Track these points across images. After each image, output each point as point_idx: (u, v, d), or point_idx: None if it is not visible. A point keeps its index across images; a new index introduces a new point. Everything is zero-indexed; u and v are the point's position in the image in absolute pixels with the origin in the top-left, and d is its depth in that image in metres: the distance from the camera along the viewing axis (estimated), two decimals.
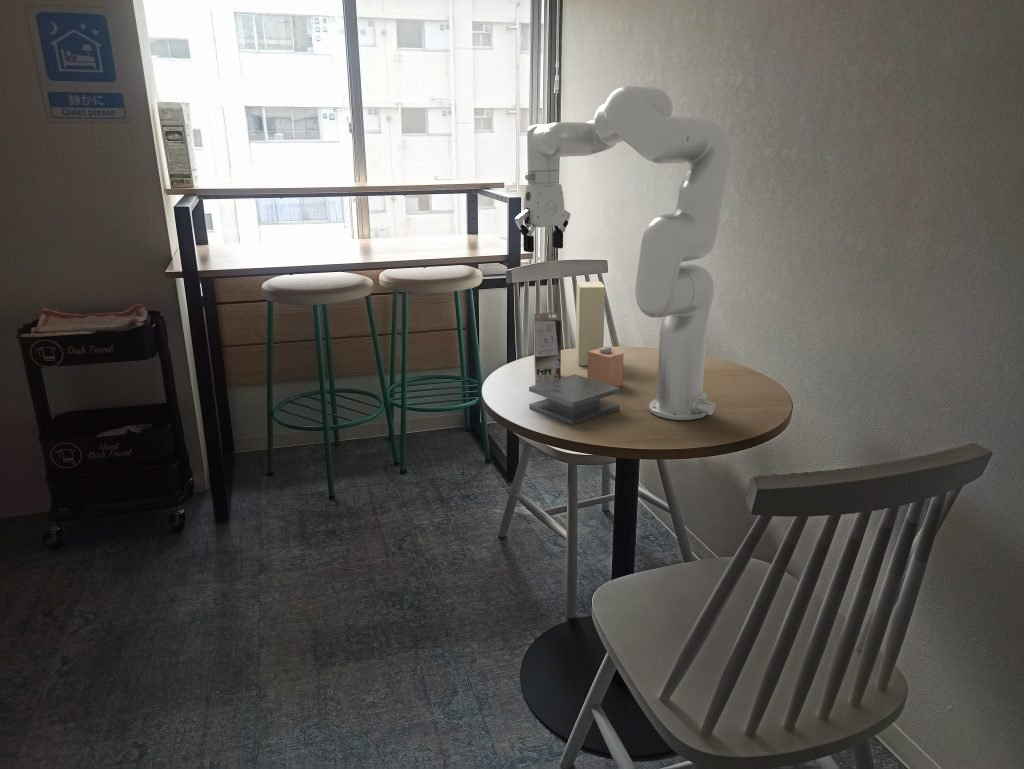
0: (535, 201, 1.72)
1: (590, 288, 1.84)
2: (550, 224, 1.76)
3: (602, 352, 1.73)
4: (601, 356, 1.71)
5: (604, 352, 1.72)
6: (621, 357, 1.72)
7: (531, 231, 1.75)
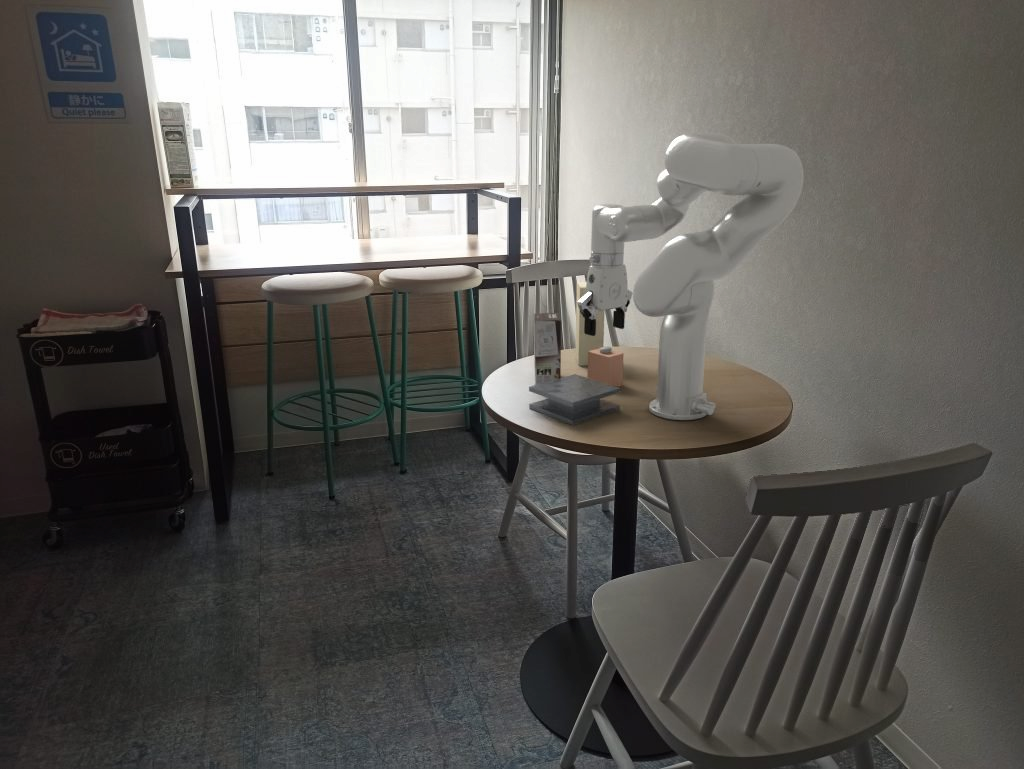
0: (599, 285, 1.64)
1: None
2: (613, 307, 1.68)
3: (602, 352, 1.73)
4: (601, 356, 1.71)
5: (604, 352, 1.72)
6: (621, 357, 1.72)
7: (594, 315, 1.67)
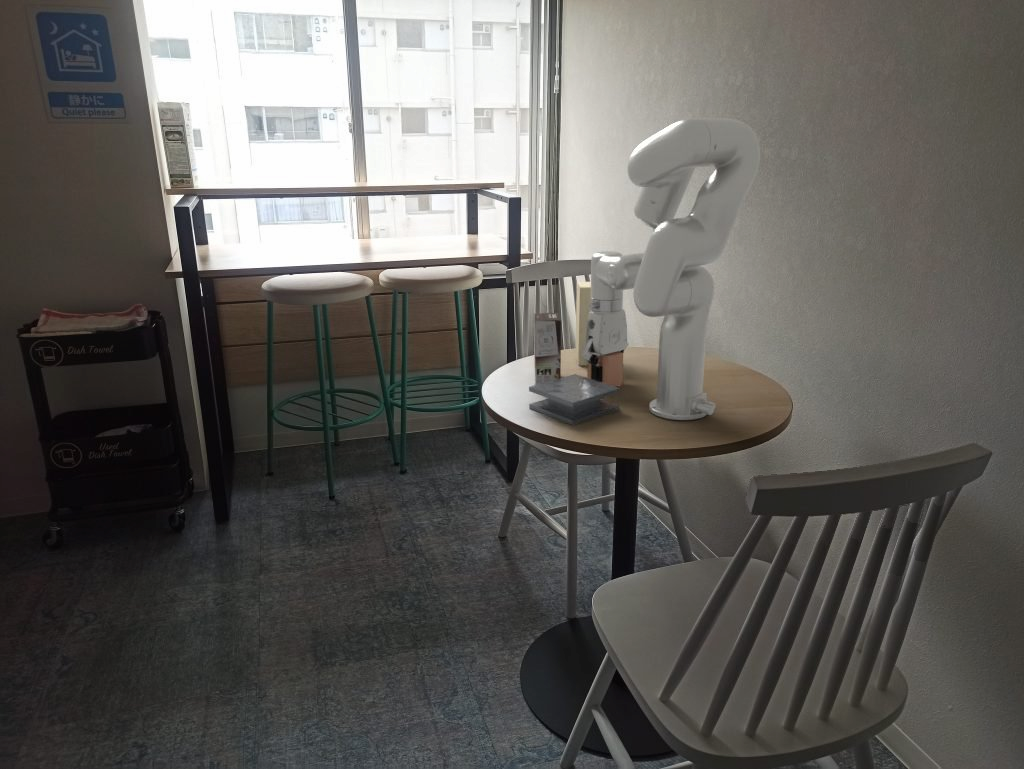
0: (599, 330, 1.67)
1: (590, 288, 1.84)
2: (613, 351, 1.71)
3: None
4: None
5: None
6: (621, 357, 1.72)
7: (599, 361, 1.71)
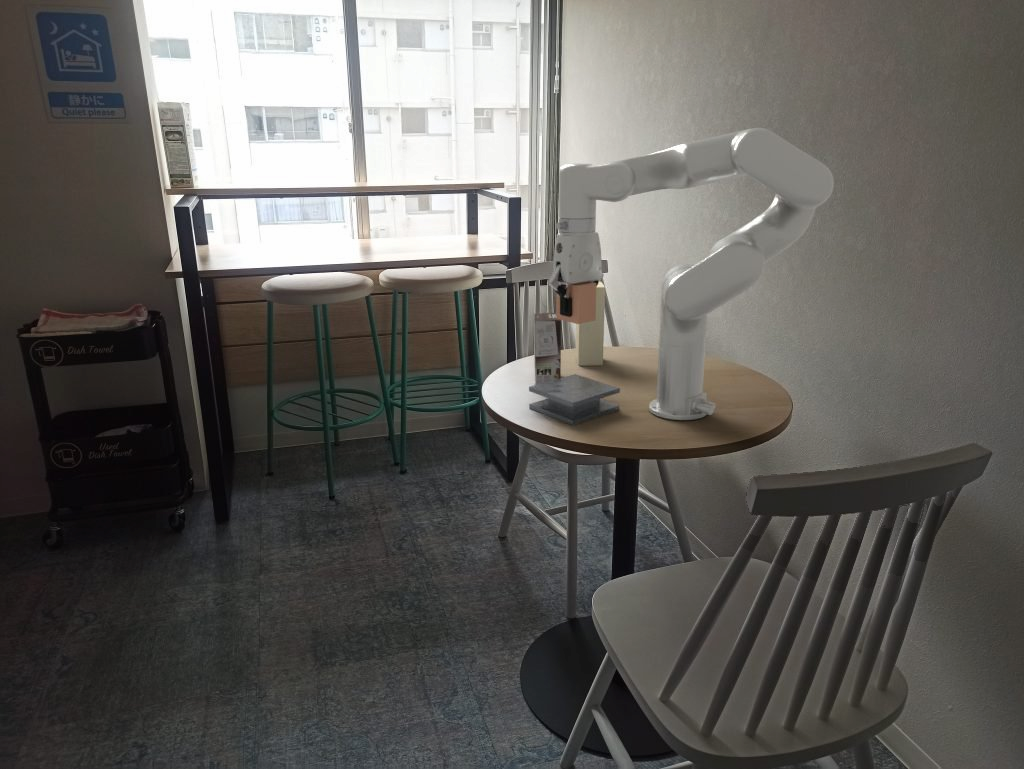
0: (567, 254, 1.45)
1: None
2: (584, 280, 1.49)
3: None
4: None
5: None
6: (593, 287, 1.50)
7: (568, 292, 1.49)
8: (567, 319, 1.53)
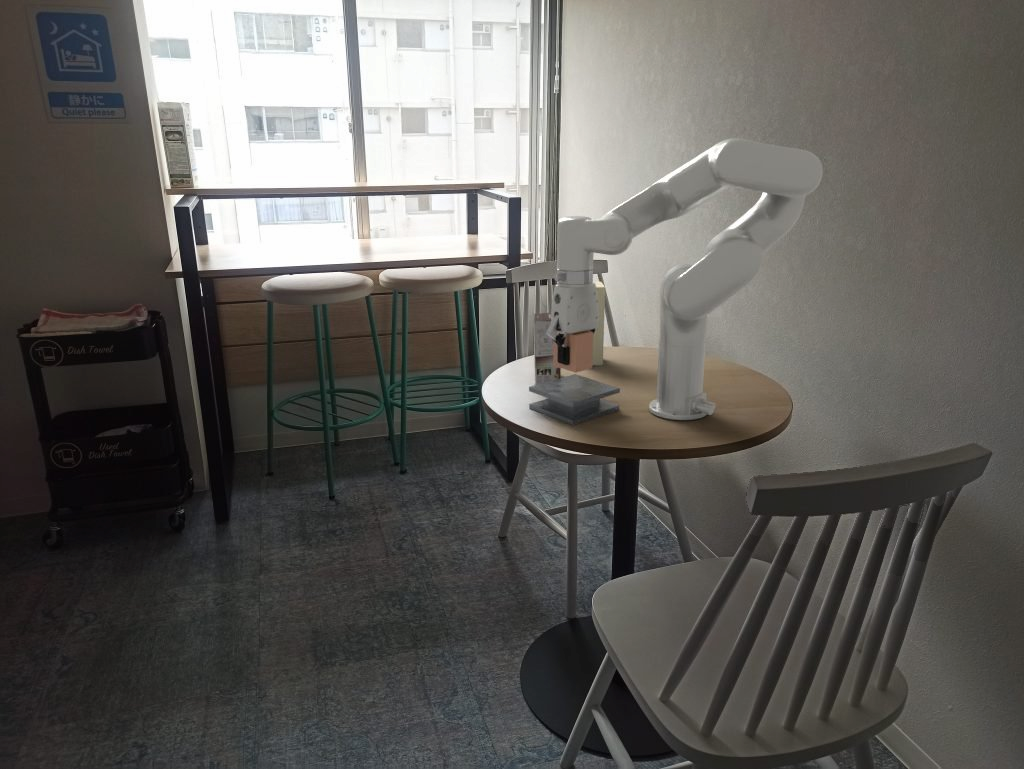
0: (566, 305, 1.48)
1: None
2: (582, 329, 1.52)
3: None
4: None
5: None
6: (591, 336, 1.53)
7: (566, 341, 1.52)
8: (564, 367, 1.55)
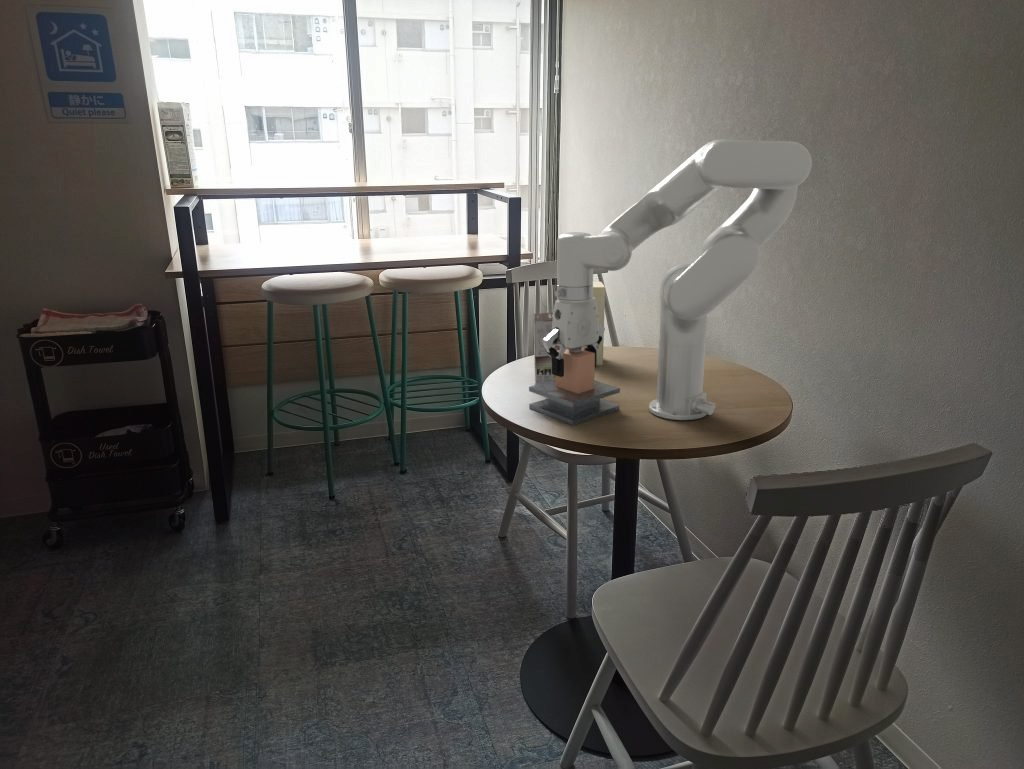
0: (566, 321, 1.49)
1: None
2: (583, 344, 1.53)
3: (571, 352, 1.54)
4: (569, 356, 1.53)
5: (573, 352, 1.54)
6: (592, 357, 1.54)
7: (561, 354, 1.51)
8: (567, 388, 1.56)
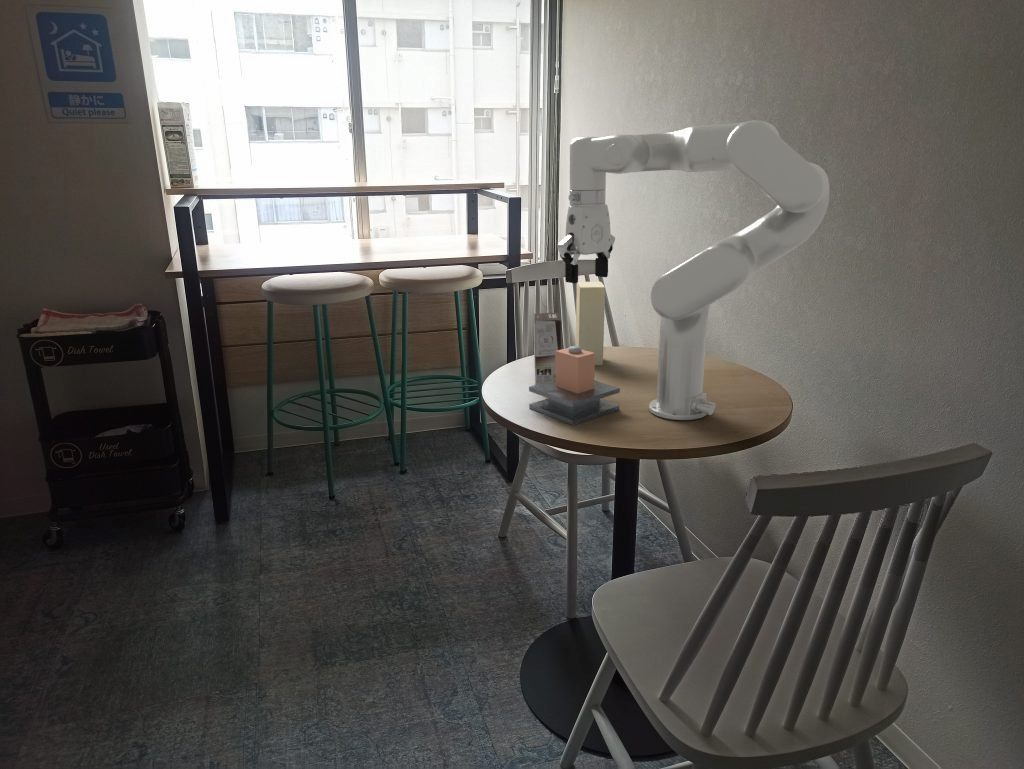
0: (581, 225, 1.49)
1: (590, 288, 1.84)
2: (596, 251, 1.54)
3: (571, 352, 1.54)
4: (569, 356, 1.53)
5: (573, 352, 1.54)
6: (592, 357, 1.54)
7: (575, 259, 1.52)
8: (567, 388, 1.56)
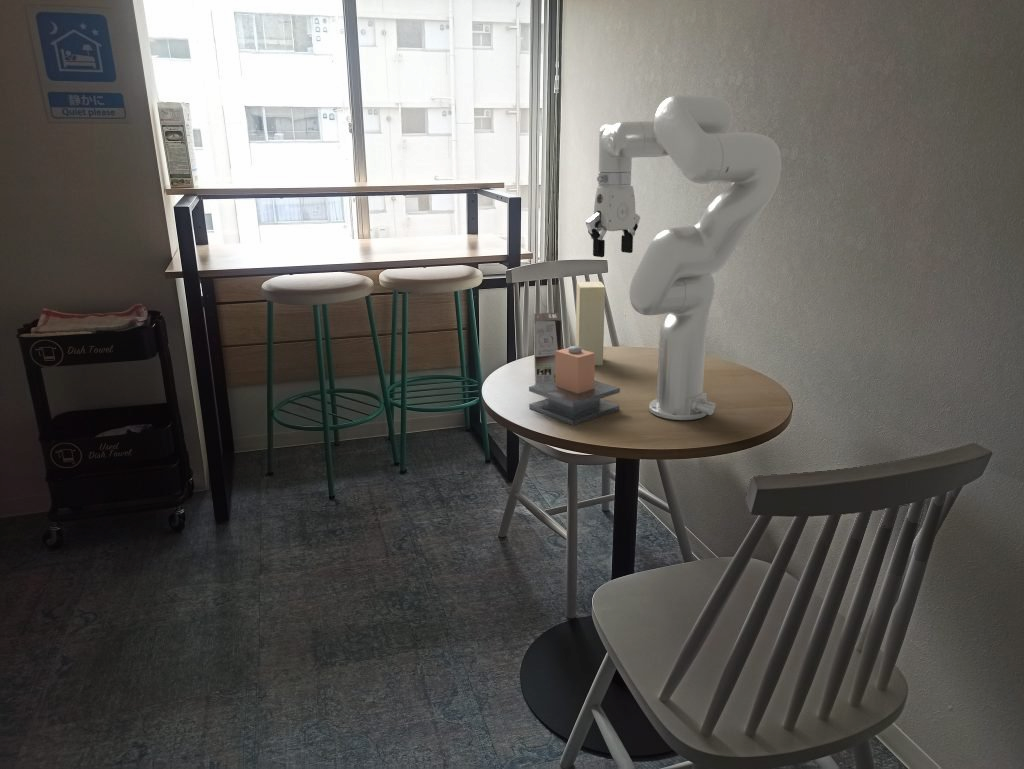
0: (607, 204, 1.65)
1: (590, 288, 1.84)
2: (621, 228, 1.69)
3: (571, 352, 1.54)
4: (569, 356, 1.53)
5: (573, 352, 1.54)
6: (592, 357, 1.54)
7: (602, 235, 1.68)
8: (567, 388, 1.56)
